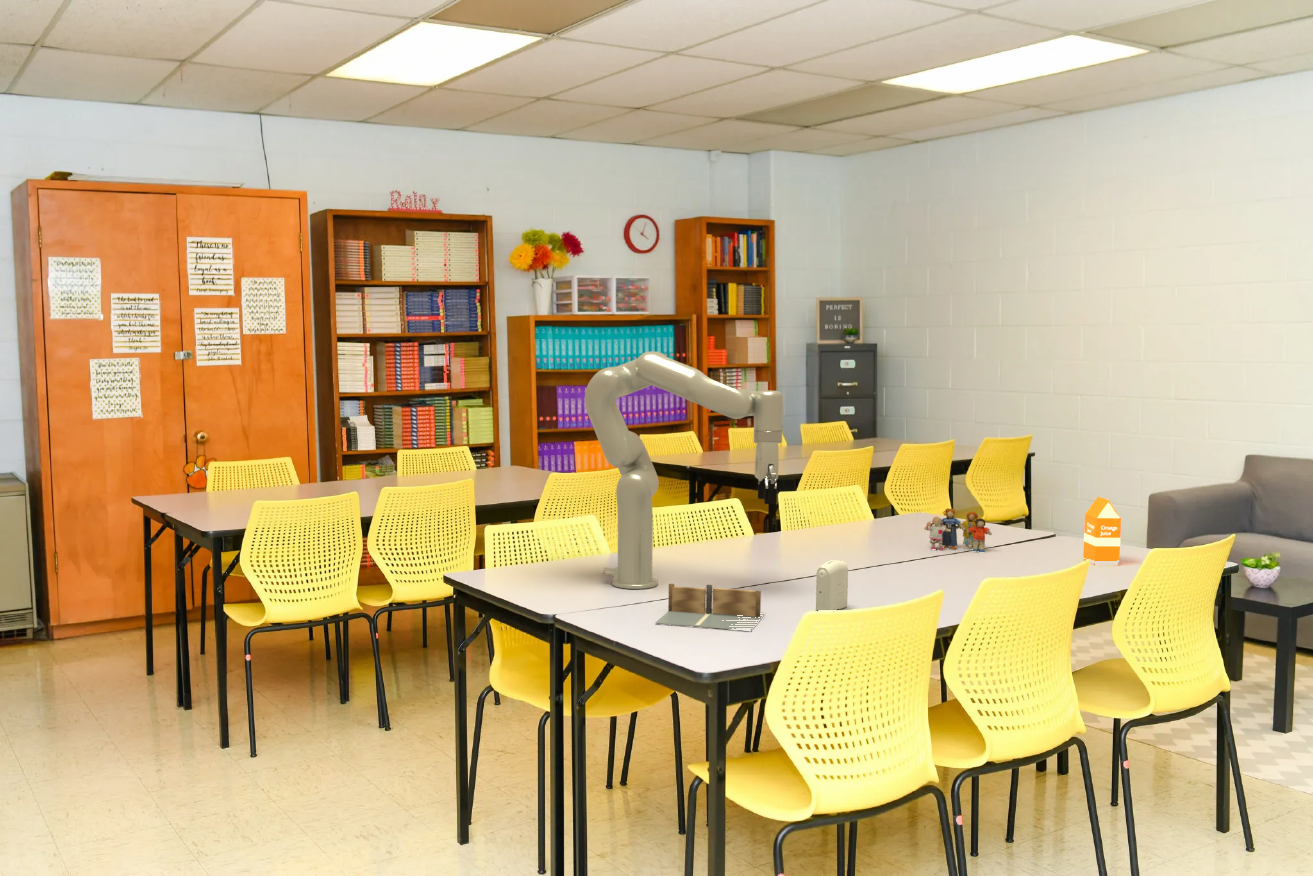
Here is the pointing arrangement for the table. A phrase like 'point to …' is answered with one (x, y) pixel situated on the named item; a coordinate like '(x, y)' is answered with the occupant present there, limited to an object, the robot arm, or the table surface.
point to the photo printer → (832, 585)
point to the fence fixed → (690, 599)
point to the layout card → (705, 620)
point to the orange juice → (1102, 532)
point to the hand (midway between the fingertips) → (767, 501)
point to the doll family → (948, 534)
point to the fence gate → (736, 602)
